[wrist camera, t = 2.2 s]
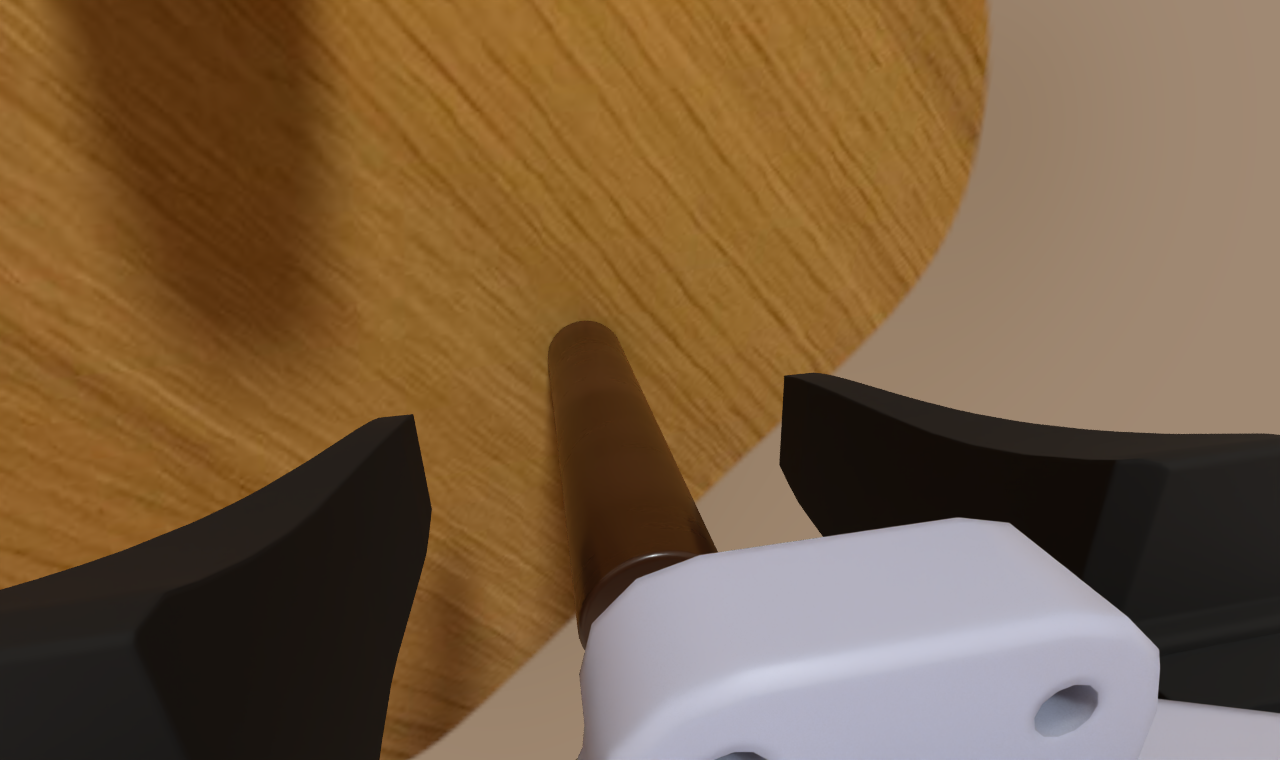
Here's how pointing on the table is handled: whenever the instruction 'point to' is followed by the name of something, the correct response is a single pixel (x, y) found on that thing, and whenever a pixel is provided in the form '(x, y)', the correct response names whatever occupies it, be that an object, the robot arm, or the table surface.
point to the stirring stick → (614, 474)
